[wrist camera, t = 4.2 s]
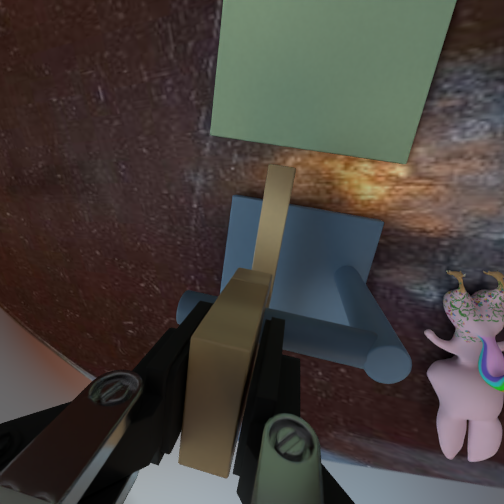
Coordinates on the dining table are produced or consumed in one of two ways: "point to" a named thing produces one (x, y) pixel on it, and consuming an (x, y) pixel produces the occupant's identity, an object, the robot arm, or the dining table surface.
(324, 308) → the rail stand
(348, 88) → the mat
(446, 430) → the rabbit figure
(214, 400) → the hanger
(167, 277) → the dining table surface
